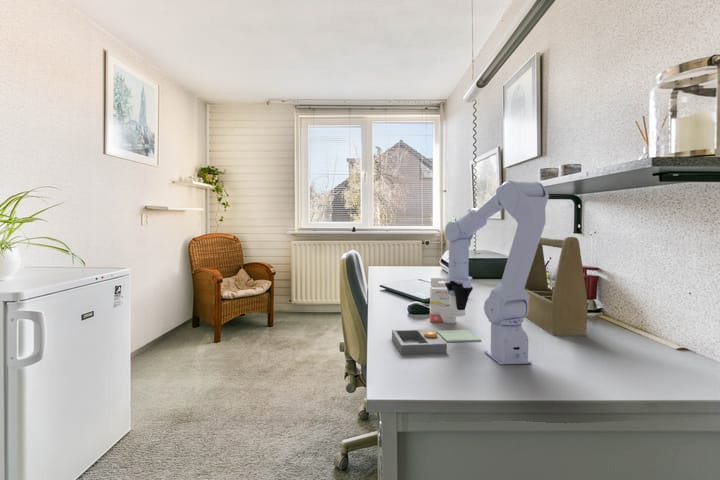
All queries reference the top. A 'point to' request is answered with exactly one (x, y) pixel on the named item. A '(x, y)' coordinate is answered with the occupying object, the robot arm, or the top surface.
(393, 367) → the top surface
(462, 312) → the cylinder
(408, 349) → the dock
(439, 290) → the ink cartridge box
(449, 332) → the mat
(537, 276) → the caddy
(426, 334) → the plunger
